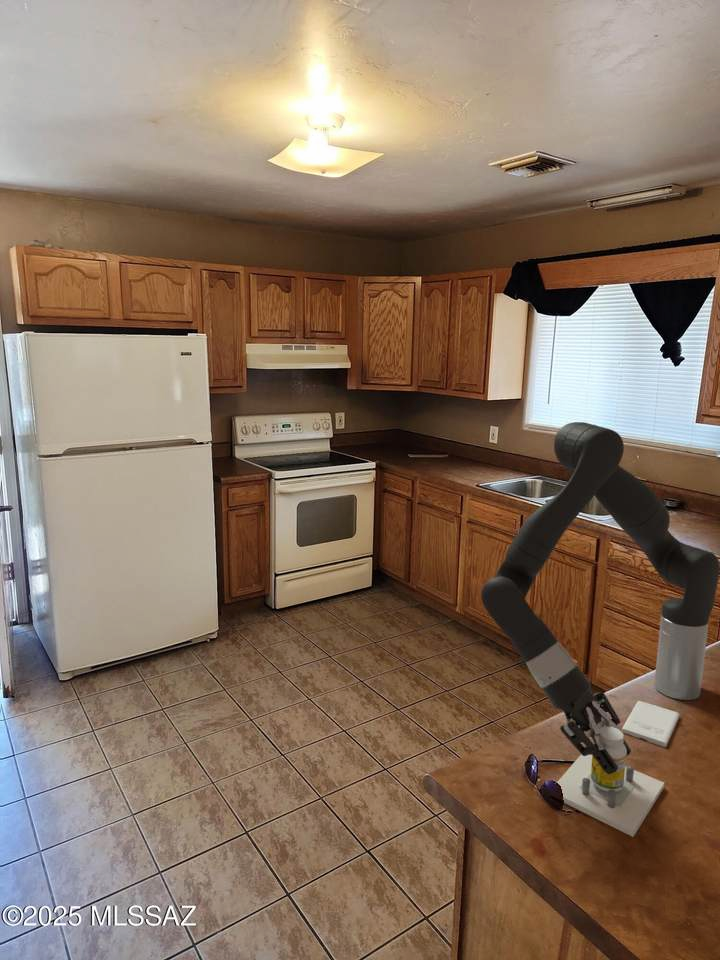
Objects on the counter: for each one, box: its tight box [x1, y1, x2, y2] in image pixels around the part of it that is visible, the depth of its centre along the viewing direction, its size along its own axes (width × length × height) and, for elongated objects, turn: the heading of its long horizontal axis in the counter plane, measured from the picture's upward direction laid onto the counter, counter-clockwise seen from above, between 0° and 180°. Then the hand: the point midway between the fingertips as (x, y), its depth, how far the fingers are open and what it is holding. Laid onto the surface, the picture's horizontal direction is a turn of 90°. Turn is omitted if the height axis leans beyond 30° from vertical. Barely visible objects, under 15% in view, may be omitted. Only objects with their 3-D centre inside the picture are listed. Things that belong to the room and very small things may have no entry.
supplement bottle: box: [591, 725, 628, 792], centre depth 107 cm, size 5×5×10 cm
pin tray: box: [556, 753, 665, 838], centre depth 108 cm, size 15×14×4 cm
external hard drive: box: [621, 700, 680, 748], centre depth 127 cm, size 2×8×12 cm
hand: (619, 762), depth 106 cm, fingers closed on supplement bottle, 5 cm apart
